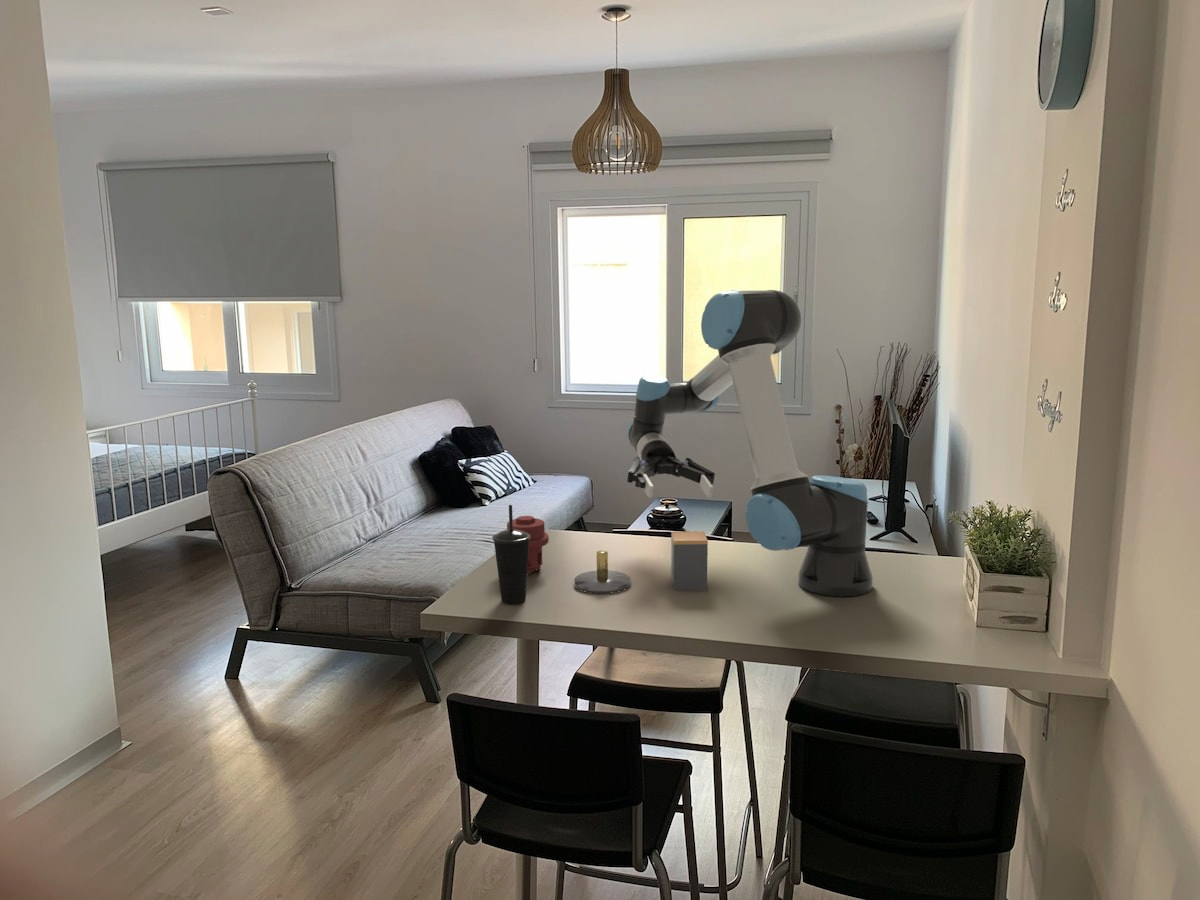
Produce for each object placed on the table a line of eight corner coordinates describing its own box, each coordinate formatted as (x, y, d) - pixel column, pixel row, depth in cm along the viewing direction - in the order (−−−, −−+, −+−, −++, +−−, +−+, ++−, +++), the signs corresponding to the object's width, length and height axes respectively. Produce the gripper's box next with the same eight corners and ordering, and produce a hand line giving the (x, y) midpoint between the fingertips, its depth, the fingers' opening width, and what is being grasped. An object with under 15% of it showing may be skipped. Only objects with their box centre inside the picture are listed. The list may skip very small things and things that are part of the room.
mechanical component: (550, 564, 208) (547, 577, 198) (507, 564, 208) (502, 578, 198) (549, 512, 206) (546, 523, 196) (505, 512, 206) (500, 523, 196)
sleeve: (703, 579, 196) (704, 531, 194) (707, 590, 189) (707, 540, 187) (671, 579, 196) (671, 531, 194) (673, 590, 189) (673, 540, 187)
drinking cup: (499, 593, 188) (496, 500, 185) (535, 595, 187) (533, 501, 184) (490, 606, 181) (486, 509, 177) (527, 608, 180) (524, 510, 176)
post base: (636, 577, 197) (636, 546, 196) (622, 595, 186) (622, 562, 185) (583, 573, 200) (583, 542, 199) (567, 591, 189) (566, 558, 188)
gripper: (703, 469, 219) (732, 508, 200) (603, 467, 213) (623, 507, 194) (708, 440, 216) (738, 477, 197) (606, 438, 210) (627, 475, 191)
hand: (681, 492), depth 195 cm, fingers open, 13 cm apart
